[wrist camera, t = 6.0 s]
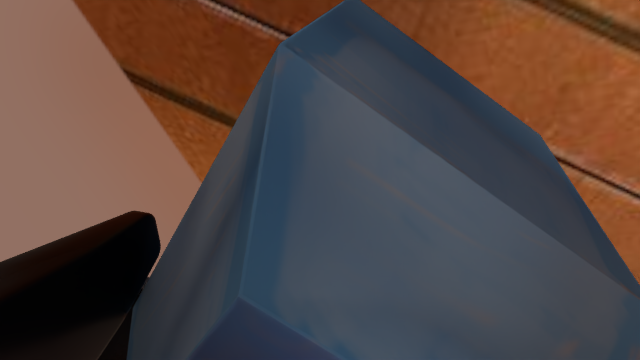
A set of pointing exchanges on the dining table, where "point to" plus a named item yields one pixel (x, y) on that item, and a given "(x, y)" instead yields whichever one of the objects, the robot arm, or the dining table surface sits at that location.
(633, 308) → the perfume bottle
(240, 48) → the dining table surface
